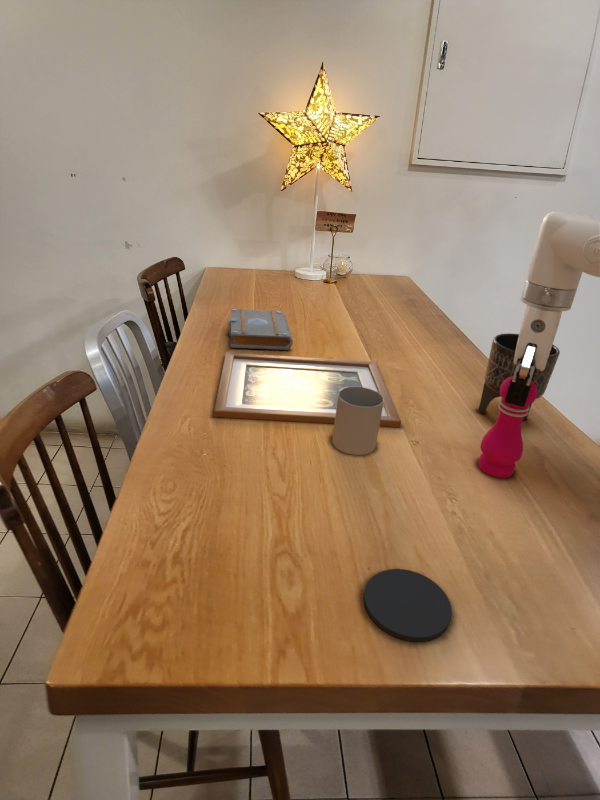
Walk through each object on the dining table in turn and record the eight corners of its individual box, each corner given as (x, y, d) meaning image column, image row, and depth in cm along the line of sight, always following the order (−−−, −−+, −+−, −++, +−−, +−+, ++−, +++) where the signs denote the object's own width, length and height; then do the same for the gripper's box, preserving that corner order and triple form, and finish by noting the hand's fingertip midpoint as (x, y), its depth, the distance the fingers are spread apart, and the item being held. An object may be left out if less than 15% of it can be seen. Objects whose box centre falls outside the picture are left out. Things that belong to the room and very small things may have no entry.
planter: (540, 440, 111) (567, 360, 103) (476, 429, 112) (498, 350, 104) (528, 411, 122) (551, 338, 114) (470, 402, 124) (489, 329, 116)
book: (291, 351, 142) (293, 333, 140) (228, 348, 140) (229, 330, 138) (284, 324, 161) (286, 308, 159) (229, 322, 158) (229, 305, 156)
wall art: (225, 351, 134) (375, 361, 137) (225, 357, 135) (374, 366, 138) (213, 410, 107) (401, 421, 110) (213, 417, 107) (400, 427, 110)
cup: (364, 460, 98) (372, 411, 94) (324, 445, 101) (330, 398, 97) (381, 440, 105) (390, 395, 100) (344, 427, 108) (350, 382, 104)
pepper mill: (522, 470, 100) (554, 371, 91) (504, 484, 95) (537, 382, 86) (486, 453, 104) (514, 357, 95) (468, 466, 99) (495, 367, 90)
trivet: (422, 567, 75) (423, 562, 75) (467, 631, 66) (469, 626, 65) (350, 580, 71) (350, 576, 71) (387, 650, 62) (388, 645, 62)
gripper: (571, 313, 76) (535, 422, 84) (575, 288, 90) (544, 383, 98) (516, 302, 79) (486, 408, 87) (528, 280, 93) (502, 373, 101)
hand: (517, 394), depth 93 cm, fingers open, 7 cm apart
